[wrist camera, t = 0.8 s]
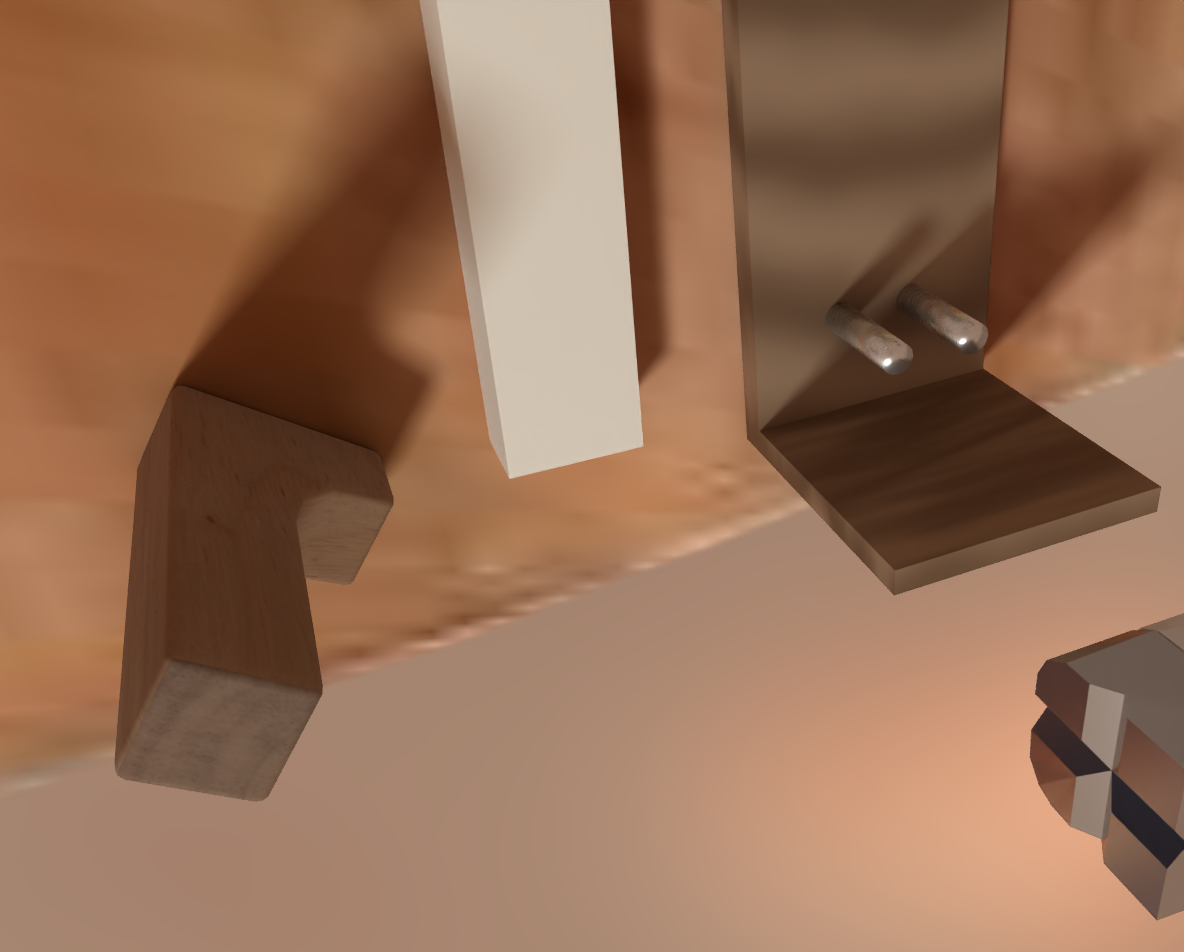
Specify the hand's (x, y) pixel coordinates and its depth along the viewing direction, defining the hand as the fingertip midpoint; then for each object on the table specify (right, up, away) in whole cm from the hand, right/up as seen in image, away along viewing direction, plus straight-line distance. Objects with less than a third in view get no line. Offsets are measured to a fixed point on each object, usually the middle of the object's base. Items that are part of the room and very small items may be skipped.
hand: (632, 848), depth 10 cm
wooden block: (-14, +4, +37) cm, 40 cm away
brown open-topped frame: (+11, +18, +38) cm, 44 cm away
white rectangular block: (-3, +14, +36) cm, 39 cm away
